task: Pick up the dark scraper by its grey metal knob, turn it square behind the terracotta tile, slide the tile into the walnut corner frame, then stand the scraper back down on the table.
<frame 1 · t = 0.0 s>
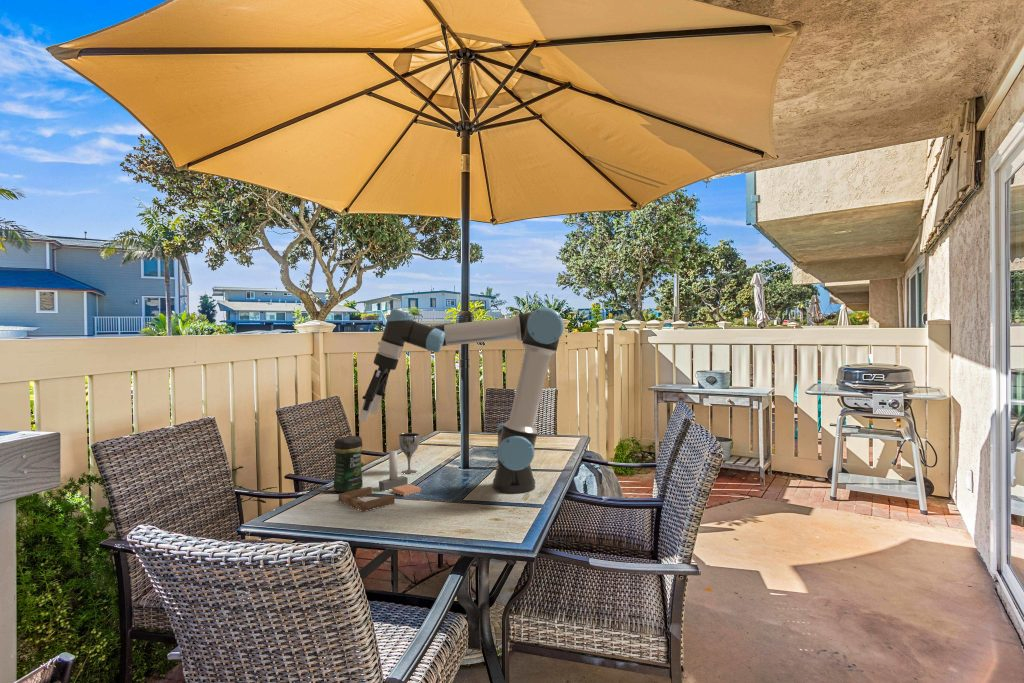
hand: (367, 416, 180), 28 cm above the table, tool tilted 20°, fingers open, 13 cm apart
wine glass: (409, 472, 216), on the table
scraper: (393, 487, 195), on the table
coffee jar: (348, 489, 194), on the table
frame: (368, 501, 179), on the table
tile: (406, 493, 190), on the table
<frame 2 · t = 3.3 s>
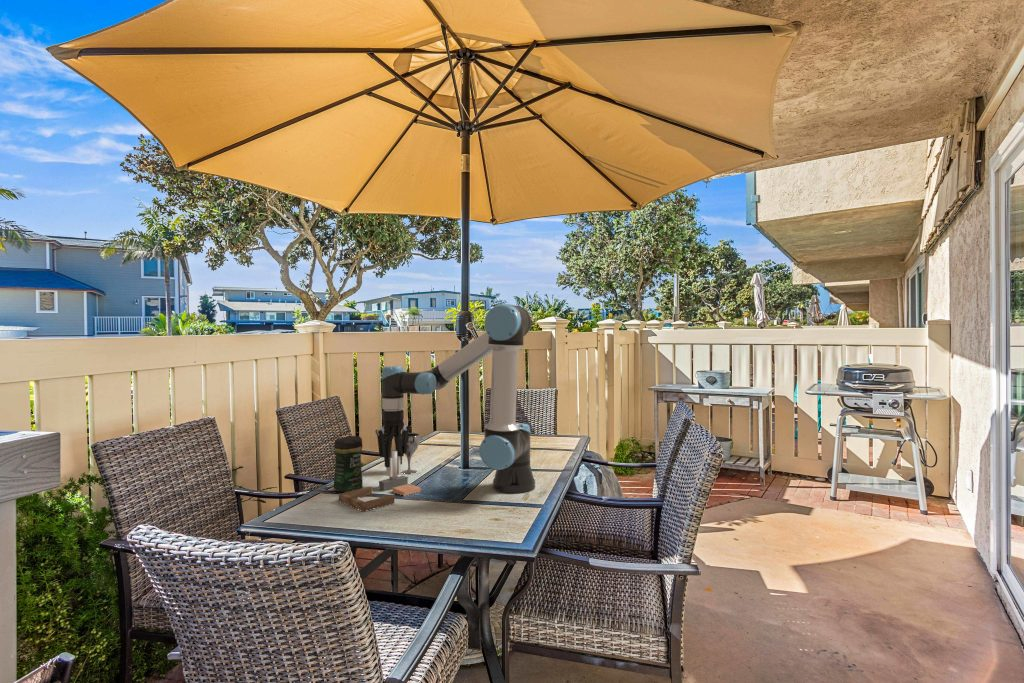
hand: (393, 474, 195), 5 cm above the table, tool pointing down, fingers closed on scraper, 3 cm apart
scraper: (393, 487, 195), on the table, touching gripper
everything else where it was.
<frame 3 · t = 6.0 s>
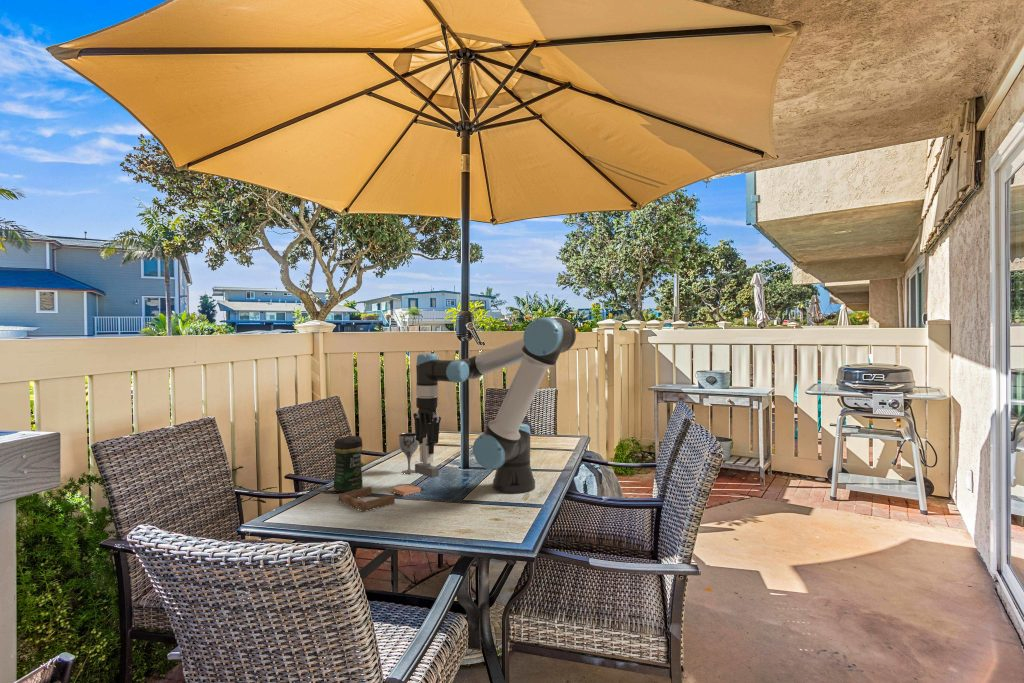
hand: (426, 461, 196), 9 cm above the table, tool pointing down, fingers closed on scraper, 3 cm apart
scraper: (426, 474, 196), point 4 cm above the table, touching gripper
everything else where it was.
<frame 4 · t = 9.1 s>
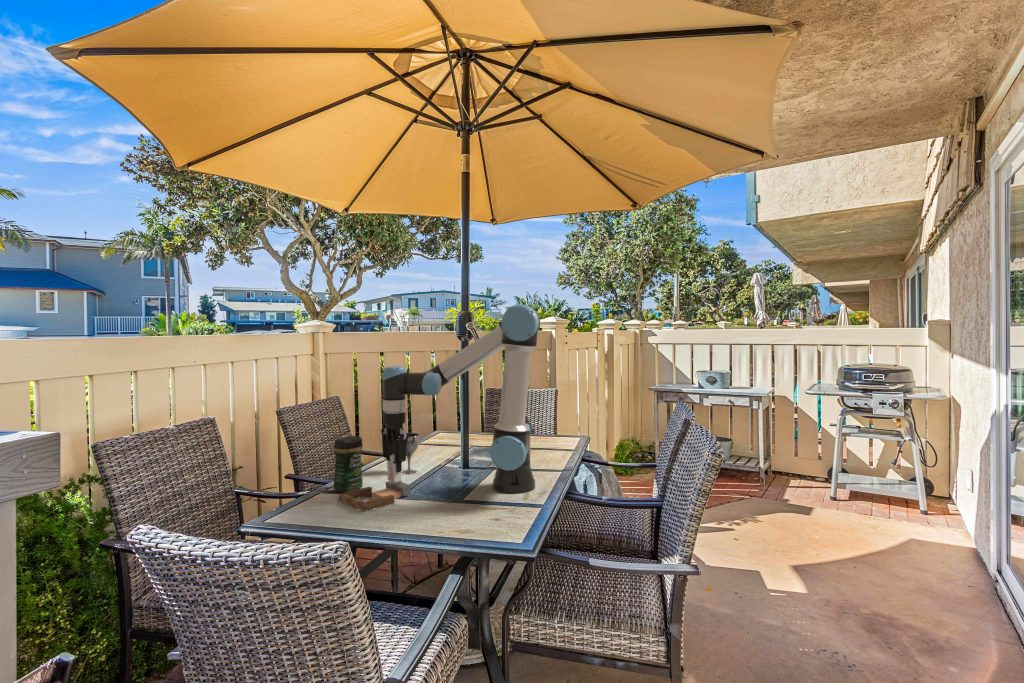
hand: (394, 480, 187), 5 cm above the table, tool pointing down, fingers closed on scraper, 3 cm apart
scraper: (398, 491, 188), point 1 cm above the table, tilted 8°, touching gripper, tile
tile: (386, 498, 184), on the table, touching scraper
everything else where it was.
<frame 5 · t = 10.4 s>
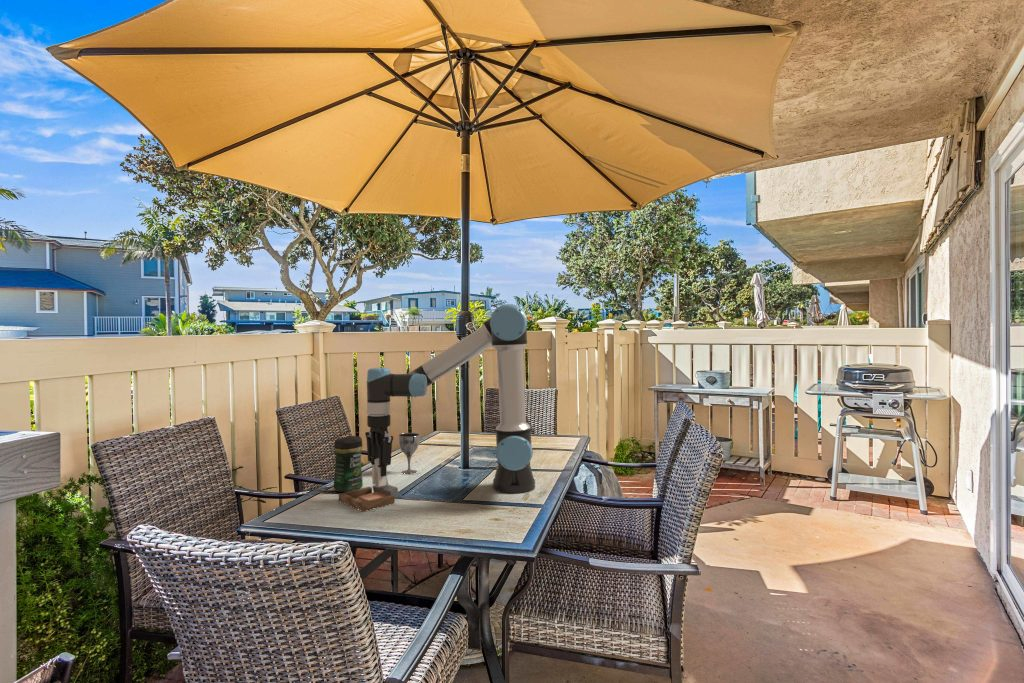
hand: (379, 484, 182), 5 cm above the table, tool pointing down, fingers closed on scraper, 3 cm apart
scraper: (386, 494, 184), point 1 cm above the table, tilted 14°, touching gripper
tile: (373, 502, 180), on the table
everything else where it was.
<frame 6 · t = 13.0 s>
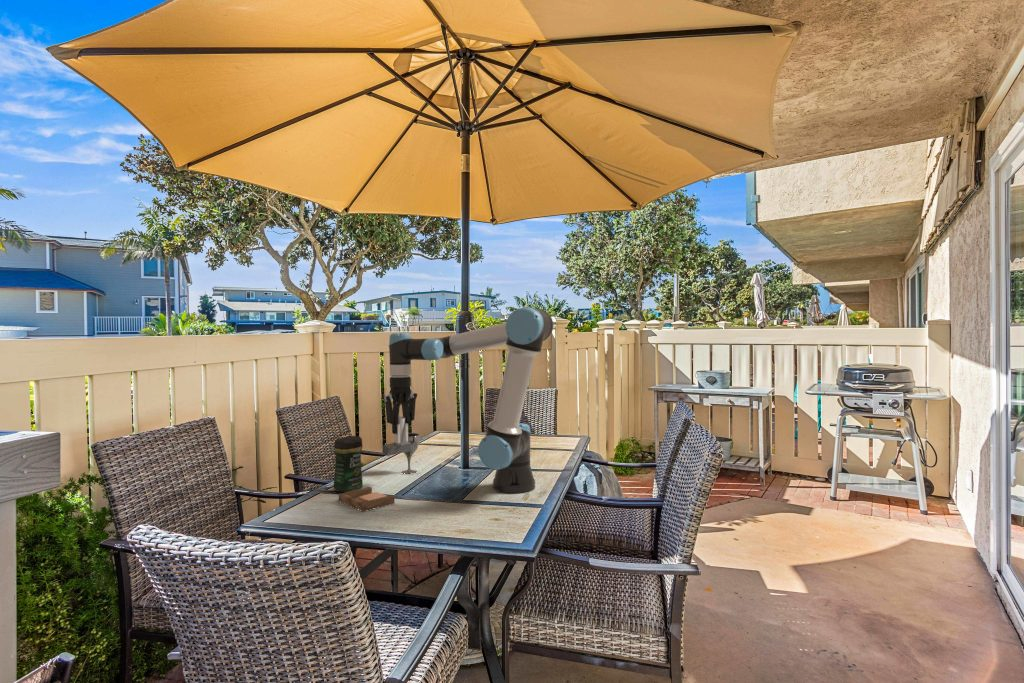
hand: (401, 441, 196), 16 cm above the table, tool pointing down, fingers closed on scraper, 3 cm apart
scraper: (396, 451, 198), point 12 cm above the table, tilted 13°, touching gripper
everything else where it was.
when the fingers open (6 cm above the table, at t = 15.3 s): scraper drops 2 cm, on the table.
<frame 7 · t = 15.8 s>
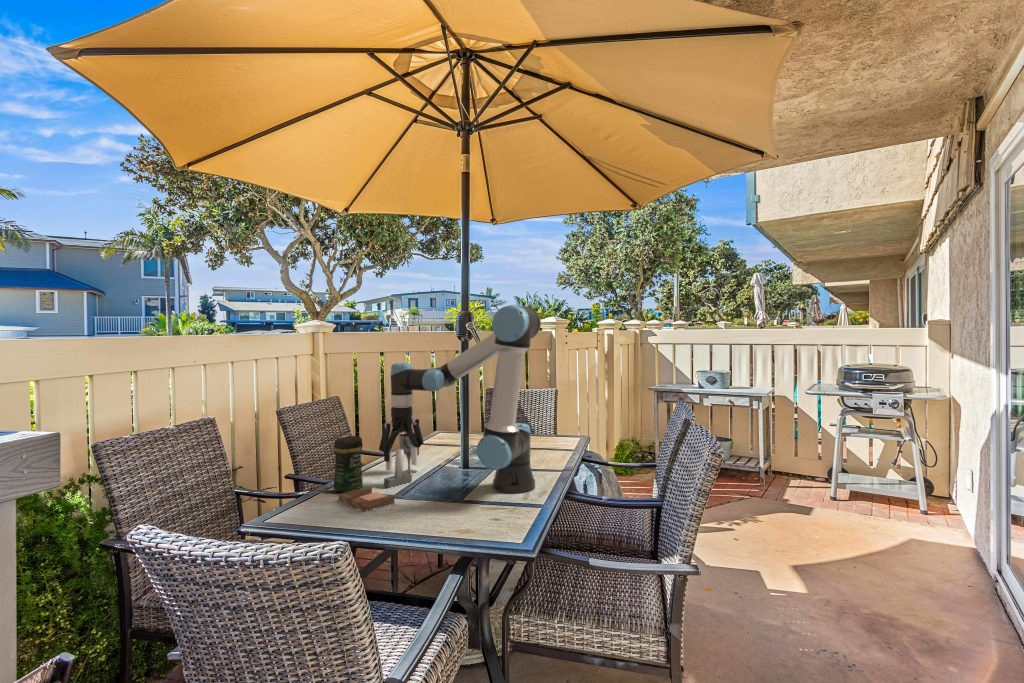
hand: (402, 467, 197), 7 cm above the table, tool pointing down, fingers open, 10 cm apart
scraper: (397, 484, 199), on the table, tilted 6°
everything else where it was.
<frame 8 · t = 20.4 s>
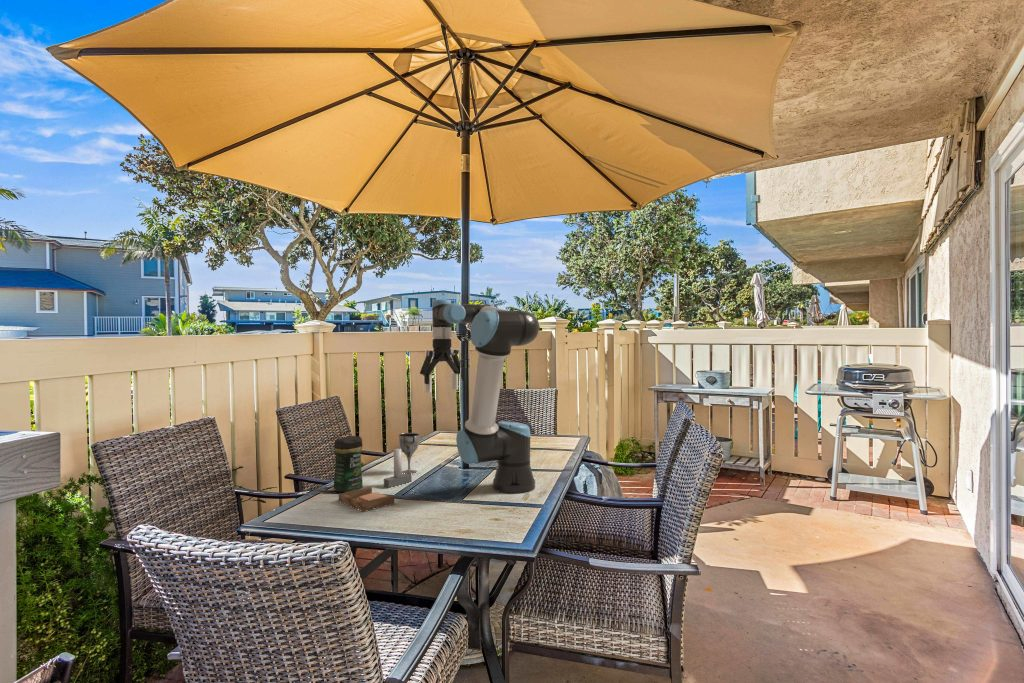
hand: (442, 391, 220), 32 cm above the table, tool pointing down, fingers open, 13 cm apart
scraper: (397, 484, 199), on the table
everything else where it was.
at the end: tile inside the target area on the frame (1.9 cm from its centre), point -0.5 cm above the frame's base; the gripper is holding nothing; scraper tilted 0° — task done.
